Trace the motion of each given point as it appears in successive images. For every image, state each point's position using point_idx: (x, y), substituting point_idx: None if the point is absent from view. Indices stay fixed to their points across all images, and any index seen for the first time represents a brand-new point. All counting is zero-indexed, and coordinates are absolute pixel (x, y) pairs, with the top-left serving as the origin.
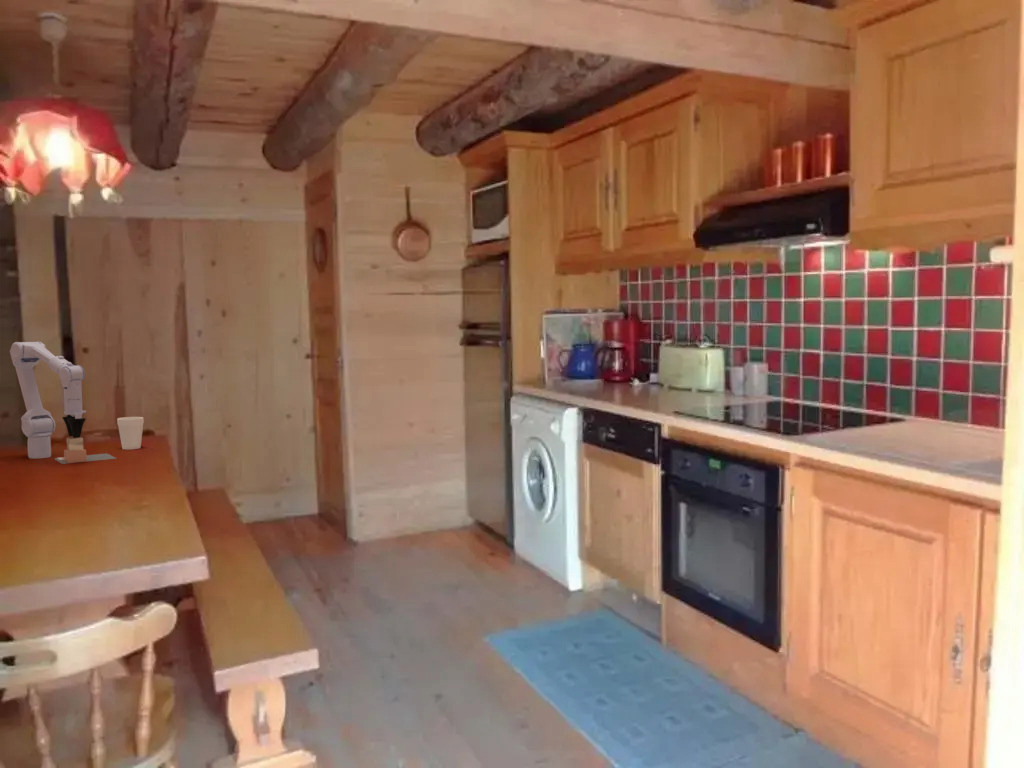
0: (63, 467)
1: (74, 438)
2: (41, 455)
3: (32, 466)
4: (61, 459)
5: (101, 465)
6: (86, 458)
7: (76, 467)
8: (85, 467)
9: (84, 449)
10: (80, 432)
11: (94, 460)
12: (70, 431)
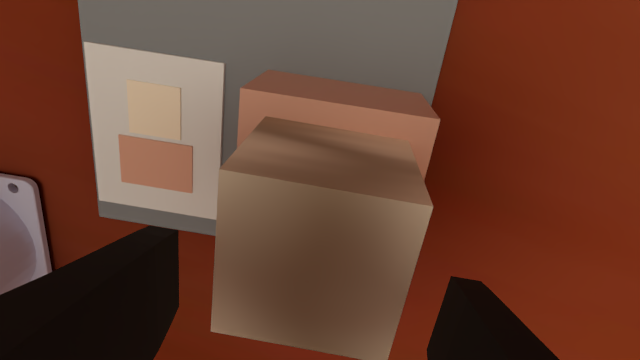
0: (423, 258)
1: (362, 298)
2: (15, 268)
3: (234, 346)
4: (206, 208)
5: (609, 27)
6: (425, 100)
7: (505, 205)
8: (570, 162)
9: (365, 111)
10: (538, 349)
11: (443, 25)
12: (140, 351)
